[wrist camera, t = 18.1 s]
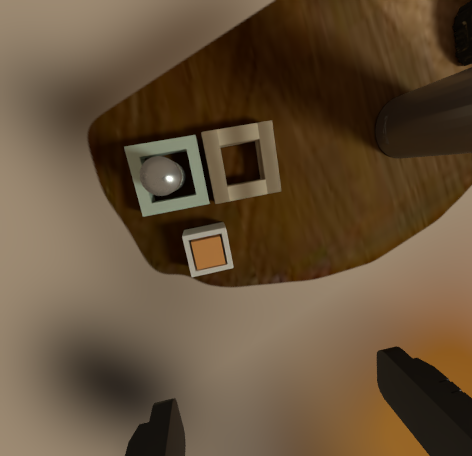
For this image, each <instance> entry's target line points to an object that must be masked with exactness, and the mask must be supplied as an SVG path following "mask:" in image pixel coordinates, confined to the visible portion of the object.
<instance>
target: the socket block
mask: <svg viewBox="0 0 472 456" xmlns="http://www.w3.org/2000/svg"><path fill="white" fill-rule="evenodd" d="M201 136H202V141H203V146H204V151H205V156H206V161H207V166H208V171H209V177H210V182H211V187H212V192H213V197H214V202H215V204H218V203H223V202H228V201H234V200H239V199H244V198H249V197H254V196H259V195H264V194H269V193H274V192H280V191H281V185H280V177H279V170H278V162H277V155H276V147H275V140H274V132H273V124H272V120H271V121H265V122H259V123H253V124H247V125H241V126H235V127H229V128H223V129H217V130H211V131H205V132H201ZM250 142H255V146H256V153H257V160H258V166H259V173H260V179H258V180H253V181H248V182H242V183H237V184H232V185H227V183H226V177H225V172H224V166H223V161H222V155H221V150H220V148H221V147H227V146H232V145H238V144H244V143H250Z"/></svg>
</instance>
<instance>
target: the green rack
mask: <svg viewBox="0 0 472 456" xmlns="http://www.w3.org/2000/svg"><path fill="white" fill-rule="evenodd" d="M124 149H125V153H126V156H127V160H128V164H129V167H130V171H131V175H132V178H133V182H134V186H135V189H136V193H137V197H138V200H139V204H140V208H141V211H142V215H143V217H144V216H149V215H154V214H159V213H164V212H170V211H175V210H180V209H185V208H190V207H195V206H200V205H205V204H210V203H209V198H208V193H207V188H206V184H205V179H204V174H203V169H202V164H201V159H200V154H199V149H198V144H197V140H196V135H191V136H185V137H179V138H173V139H167V140H161V141H155V142H149V143H143V144H137V145H131V146H125V147H124ZM185 151H187V154H188V158H189V163H190V168H191V172H192V177H193V182H194V186H195V191H196V193H195V194H190V195H185V196H180V197H174V198H169V199H164V200H158V201H155V197H154V195H153V194H151V193H149V192H148V191H147V190H146V189H145V188H144V187H143V185H142V184H141V181H140V169H141V166H142V165H143V163H144V162H145V158H150V157H155V156H162V155H167V154H173V153H179V152H185Z"/></svg>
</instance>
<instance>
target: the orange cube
mask: <svg viewBox="0 0 472 456" xmlns="http://www.w3.org/2000/svg"><path fill="white" fill-rule="evenodd" d="M191 245H192V249H193V253H194V258H195V262H196V266H197V270H198V269H203V268H207V267H212V266H216V265H221V264H226V263H225V258H224V253H223V248H222V243H221V238H220V234H217V235H212V236H207V237H202V238H197V239H193V240H191Z"/></svg>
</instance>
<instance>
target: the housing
mask: <svg viewBox="0 0 472 456" xmlns="http://www.w3.org/2000/svg"><path fill="white" fill-rule="evenodd" d="M217 234H221V237H222V242H223V247H224V252H225V255H224V258H225V263H226V264H221V265H216V266H212V267H207V268H203V269H198V270H197V266H196V262H195V258H194V253H193V249H192V245H191V240H193V239H197V238H202V237H207V236H212V235H217ZM182 238H183V243H184V247H185V251H186V255H187V259H188V264H189V268H190V272H191V276H192V277H195V276H199V275H204V274H208V273H213V272H217V271H222V270H226V269H231V268H234V267H233V262H232V257H231V252H230V247H229V242H228V236H227V231H226V227H225V225H224V223H223V222H221V223H216V224H211V225H206V226H201V227H196V228H191V229H186V230H184V232H183V235H182Z"/></svg>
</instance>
